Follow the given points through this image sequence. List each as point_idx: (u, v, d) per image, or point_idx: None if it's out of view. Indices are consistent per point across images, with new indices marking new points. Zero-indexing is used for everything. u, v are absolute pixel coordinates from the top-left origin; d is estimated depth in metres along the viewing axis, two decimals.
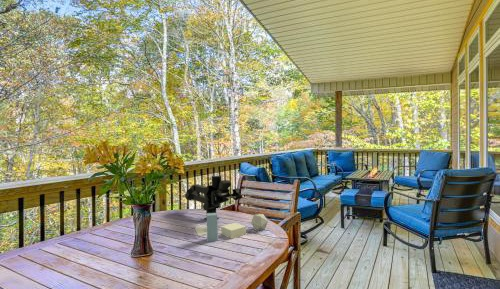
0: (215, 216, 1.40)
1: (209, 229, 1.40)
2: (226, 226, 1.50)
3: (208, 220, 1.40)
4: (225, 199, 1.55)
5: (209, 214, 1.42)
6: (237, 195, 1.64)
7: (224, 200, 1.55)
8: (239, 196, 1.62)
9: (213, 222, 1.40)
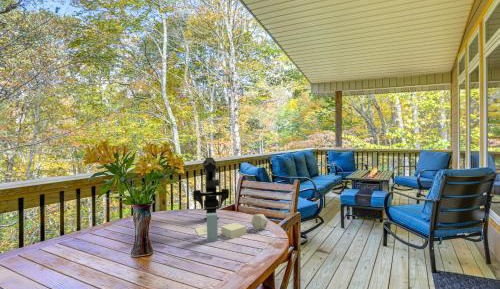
0: (215, 216, 1.40)
1: (209, 229, 1.40)
2: (226, 226, 1.50)
3: (208, 220, 1.40)
4: (201, 205, 1.50)
5: (209, 214, 1.42)
6: None
7: None
8: (220, 203, 1.52)
9: (213, 222, 1.40)
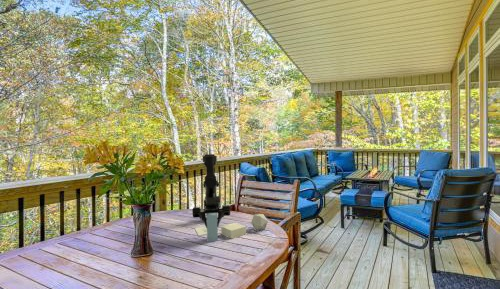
0: (215, 216, 1.40)
1: (209, 229, 1.40)
2: (226, 226, 1.50)
3: (208, 220, 1.40)
4: (205, 224, 1.42)
5: (209, 214, 1.42)
6: None
7: (204, 223, 1.42)
8: (217, 222, 1.43)
9: (213, 222, 1.40)
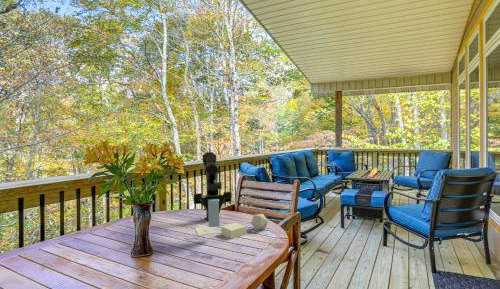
0: (217, 202, 1.41)
1: (211, 214, 1.40)
2: (226, 226, 1.50)
3: (210, 206, 1.40)
4: (206, 210, 1.42)
5: (211, 200, 1.42)
6: (219, 203, 1.45)
7: (206, 209, 1.43)
8: None
9: (215, 207, 1.41)
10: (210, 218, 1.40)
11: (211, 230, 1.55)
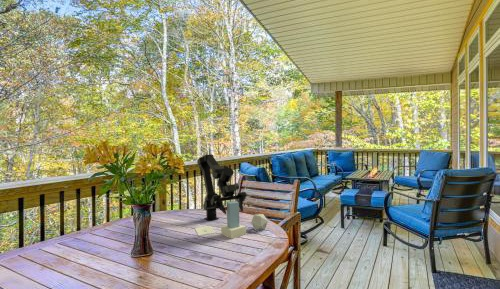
0: (237, 203, 1.48)
1: (232, 216, 1.47)
2: (226, 226, 1.50)
3: (231, 208, 1.46)
4: (223, 211, 1.46)
5: (230, 202, 1.48)
6: (239, 203, 1.53)
7: (222, 210, 1.47)
8: (240, 207, 1.51)
9: (235, 209, 1.47)
10: (231, 220, 1.47)
11: (211, 230, 1.55)
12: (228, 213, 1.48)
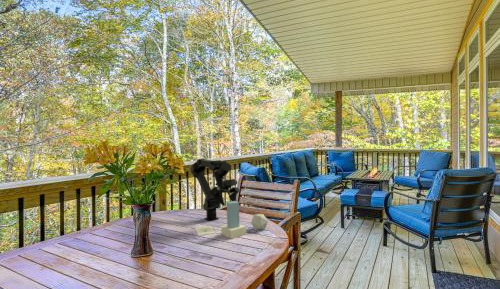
0: (237, 203, 1.48)
1: (232, 216, 1.47)
2: (226, 226, 1.50)
3: (231, 208, 1.46)
4: (221, 202, 1.56)
5: (230, 202, 1.48)
6: (233, 197, 1.65)
7: (220, 201, 1.56)
8: None
9: (235, 209, 1.47)
10: (231, 220, 1.47)
11: (211, 230, 1.55)
12: (228, 213, 1.48)
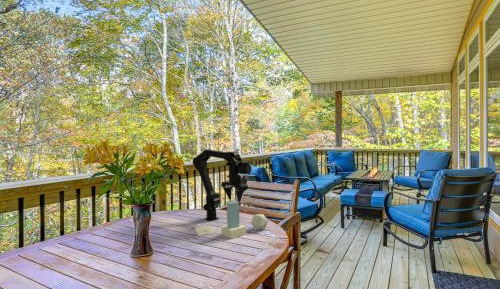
0: (237, 203, 1.48)
1: (232, 216, 1.47)
2: (226, 226, 1.50)
3: (231, 208, 1.46)
4: (240, 198, 1.64)
5: (230, 202, 1.48)
6: (229, 191, 1.72)
7: (239, 198, 1.63)
8: (229, 195, 1.72)
9: (235, 209, 1.47)
10: (231, 220, 1.47)
11: (211, 230, 1.55)
12: (228, 213, 1.48)
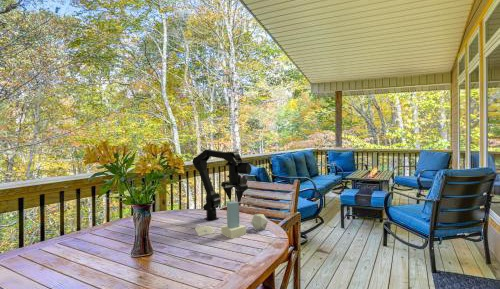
0: (237, 203, 1.48)
1: (232, 216, 1.47)
2: (226, 226, 1.50)
3: (231, 208, 1.46)
4: (240, 198, 1.64)
5: (230, 202, 1.48)
6: (229, 191, 1.72)
7: (239, 198, 1.63)
8: (229, 195, 1.72)
9: (235, 209, 1.47)
10: (231, 220, 1.47)
11: (211, 230, 1.55)
12: (228, 213, 1.48)
